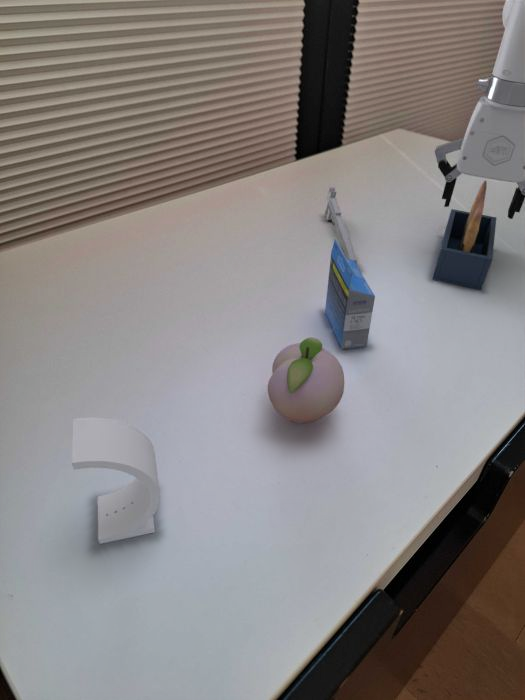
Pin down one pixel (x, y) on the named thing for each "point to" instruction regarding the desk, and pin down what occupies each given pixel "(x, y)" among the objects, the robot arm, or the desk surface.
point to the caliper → (338, 223)
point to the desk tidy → (465, 264)
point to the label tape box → (348, 301)
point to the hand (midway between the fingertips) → (478, 209)
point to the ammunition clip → (473, 222)
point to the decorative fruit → (305, 382)
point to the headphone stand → (124, 455)
